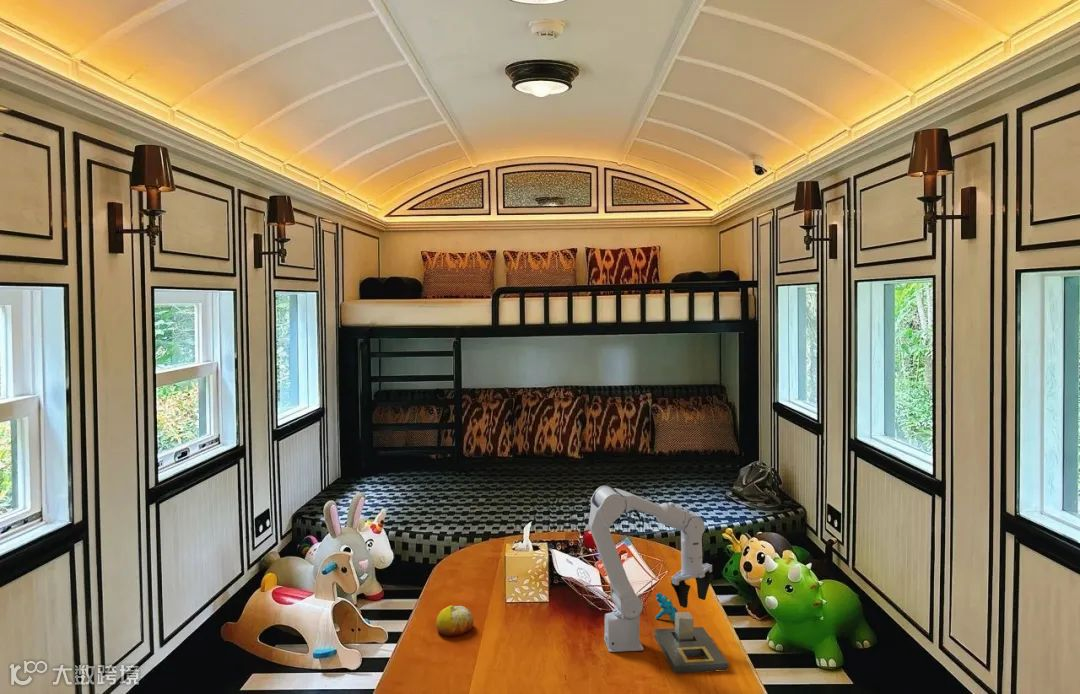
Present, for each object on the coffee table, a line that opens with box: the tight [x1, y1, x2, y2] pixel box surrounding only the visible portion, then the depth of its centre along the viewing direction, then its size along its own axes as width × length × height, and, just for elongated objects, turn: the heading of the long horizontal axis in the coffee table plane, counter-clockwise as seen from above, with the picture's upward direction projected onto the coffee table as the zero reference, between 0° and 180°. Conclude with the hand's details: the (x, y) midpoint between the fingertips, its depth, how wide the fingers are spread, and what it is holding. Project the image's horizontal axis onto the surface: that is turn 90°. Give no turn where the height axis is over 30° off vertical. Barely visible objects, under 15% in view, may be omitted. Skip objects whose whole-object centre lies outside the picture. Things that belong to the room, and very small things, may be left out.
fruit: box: [435, 604, 474, 637], centre depth 202 cm, size 11×10×8 cm
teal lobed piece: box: [655, 592, 678, 622], centre depth 208 cm, size 11×6×10 cm
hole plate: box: [653, 626, 729, 675], centre depth 188 cm, size 14×20×2 cm
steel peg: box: [674, 611, 694, 642], centre depth 193 cm, size 4×4×8 cm
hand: (692, 602), depth 196 cm, fingers open, 7 cm apart
